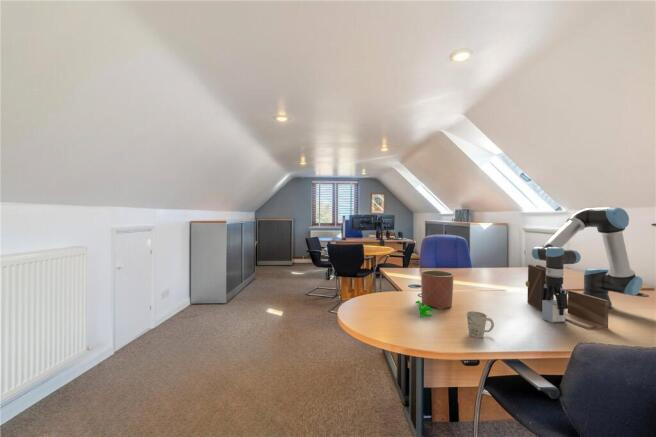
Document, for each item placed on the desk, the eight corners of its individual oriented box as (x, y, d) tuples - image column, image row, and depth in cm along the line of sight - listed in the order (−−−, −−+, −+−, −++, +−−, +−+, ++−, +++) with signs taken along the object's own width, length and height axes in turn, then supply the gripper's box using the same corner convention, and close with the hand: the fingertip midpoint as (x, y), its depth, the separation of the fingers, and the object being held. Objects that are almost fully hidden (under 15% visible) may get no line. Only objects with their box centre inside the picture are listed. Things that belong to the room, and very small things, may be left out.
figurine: (410, 313, 164) (413, 297, 164) (430, 316, 166) (433, 300, 166) (415, 317, 158) (418, 300, 158) (435, 320, 159) (438, 304, 160)
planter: (459, 306, 180) (459, 274, 180) (440, 311, 170) (441, 277, 169) (432, 298, 196) (433, 269, 196) (414, 303, 185) (414, 272, 185)
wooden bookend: (570, 314, 167) (571, 290, 167) (608, 328, 147) (608, 300, 147) (551, 315, 166) (552, 290, 166) (587, 329, 146) (587, 301, 146)
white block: (555, 317, 161) (555, 299, 160) (565, 322, 154) (565, 303, 154) (542, 318, 160) (542, 300, 160) (552, 322, 153) (552, 303, 153)
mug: (462, 332, 140) (463, 311, 140) (487, 331, 142) (487, 311, 141) (472, 339, 132) (473, 317, 132) (499, 338, 133) (499, 317, 133)
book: (557, 313, 169) (558, 270, 168) (540, 312, 170) (541, 270, 170) (537, 302, 190) (538, 264, 190) (523, 301, 192) (524, 263, 192)
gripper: (533, 272, 166) (532, 312, 166) (564, 280, 147) (563, 325, 147) (545, 272, 167) (544, 312, 167) (577, 279, 148) (577, 324, 148)
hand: (553, 318), depth 157 cm, fingers closed on white block, 6 cm apart
